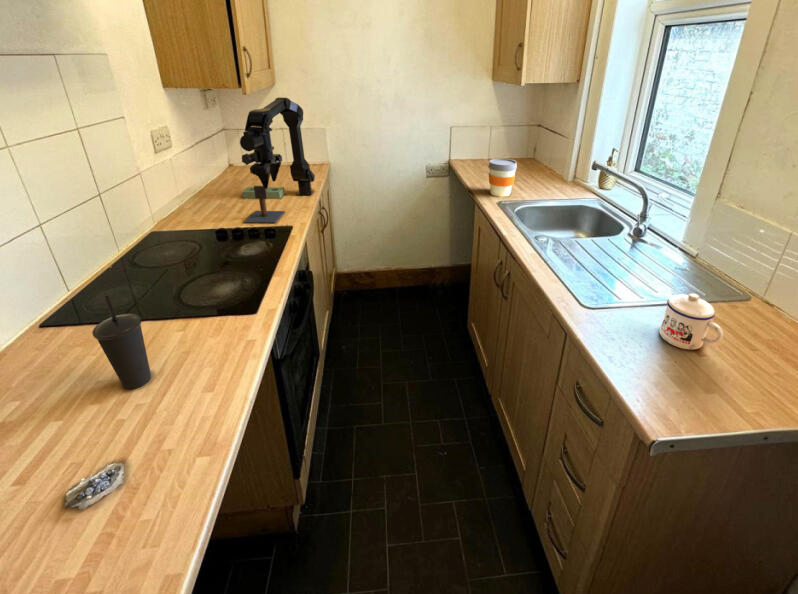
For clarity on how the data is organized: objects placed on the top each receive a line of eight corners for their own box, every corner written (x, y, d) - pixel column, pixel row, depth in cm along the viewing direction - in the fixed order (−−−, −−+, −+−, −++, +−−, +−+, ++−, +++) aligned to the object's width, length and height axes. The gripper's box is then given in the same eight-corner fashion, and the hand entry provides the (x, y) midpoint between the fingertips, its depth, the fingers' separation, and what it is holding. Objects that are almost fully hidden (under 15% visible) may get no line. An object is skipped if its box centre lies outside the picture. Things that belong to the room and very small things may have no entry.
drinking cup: (110, 400, 79) (74, 312, 71) (118, 374, 85) (86, 290, 77) (156, 388, 82) (127, 302, 74) (161, 363, 88) (134, 282, 80)
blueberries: (54, 506, 61) (49, 498, 60) (102, 458, 68) (98, 450, 67) (92, 516, 59) (88, 508, 58) (137, 466, 66) (134, 458, 66)
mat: (255, 212, 171) (255, 210, 171) (284, 212, 171) (284, 211, 171) (244, 223, 160) (243, 221, 160) (275, 223, 160) (274, 221, 160)
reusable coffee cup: (519, 194, 192) (523, 162, 186) (500, 199, 186) (503, 166, 180) (500, 187, 202) (502, 157, 195) (481, 192, 195) (483, 160, 189)
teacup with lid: (649, 333, 98) (662, 291, 93) (672, 322, 102) (685, 280, 97) (703, 364, 88) (720, 318, 83) (725, 349, 92) (742, 305, 88)
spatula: (260, 215, 166) (255, 185, 161) (271, 215, 166) (266, 185, 161) (258, 217, 164) (253, 186, 159) (269, 217, 164) (264, 186, 159)
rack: (248, 193, 194) (247, 187, 192) (284, 193, 193) (284, 187, 192) (242, 198, 187) (241, 191, 186) (280, 198, 187) (279, 192, 186)
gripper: (252, 139, 166) (258, 177, 172) (232, 150, 149) (240, 192, 155) (279, 139, 165) (285, 177, 172) (262, 151, 148) (269, 192, 155)
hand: (270, 184), depth 164 cm, fingers open, 9 cm apart
